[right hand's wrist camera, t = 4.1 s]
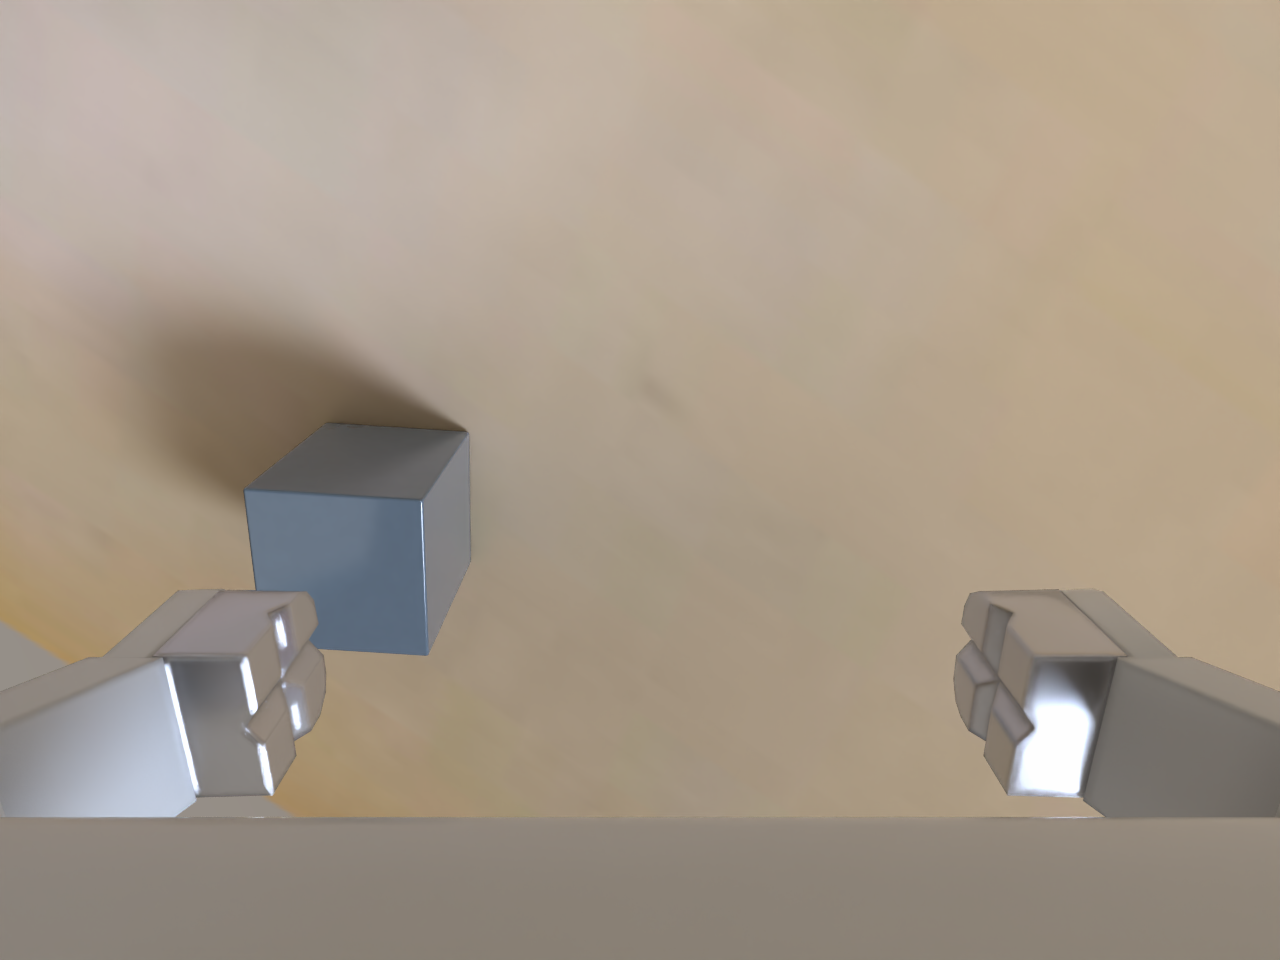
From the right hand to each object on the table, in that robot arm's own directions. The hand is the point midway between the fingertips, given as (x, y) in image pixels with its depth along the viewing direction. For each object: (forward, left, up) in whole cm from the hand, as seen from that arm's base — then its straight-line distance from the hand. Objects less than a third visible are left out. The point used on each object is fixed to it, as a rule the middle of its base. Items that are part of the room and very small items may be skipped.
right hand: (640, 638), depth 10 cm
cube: (-2, +8, -13) cm, 15 cm away
